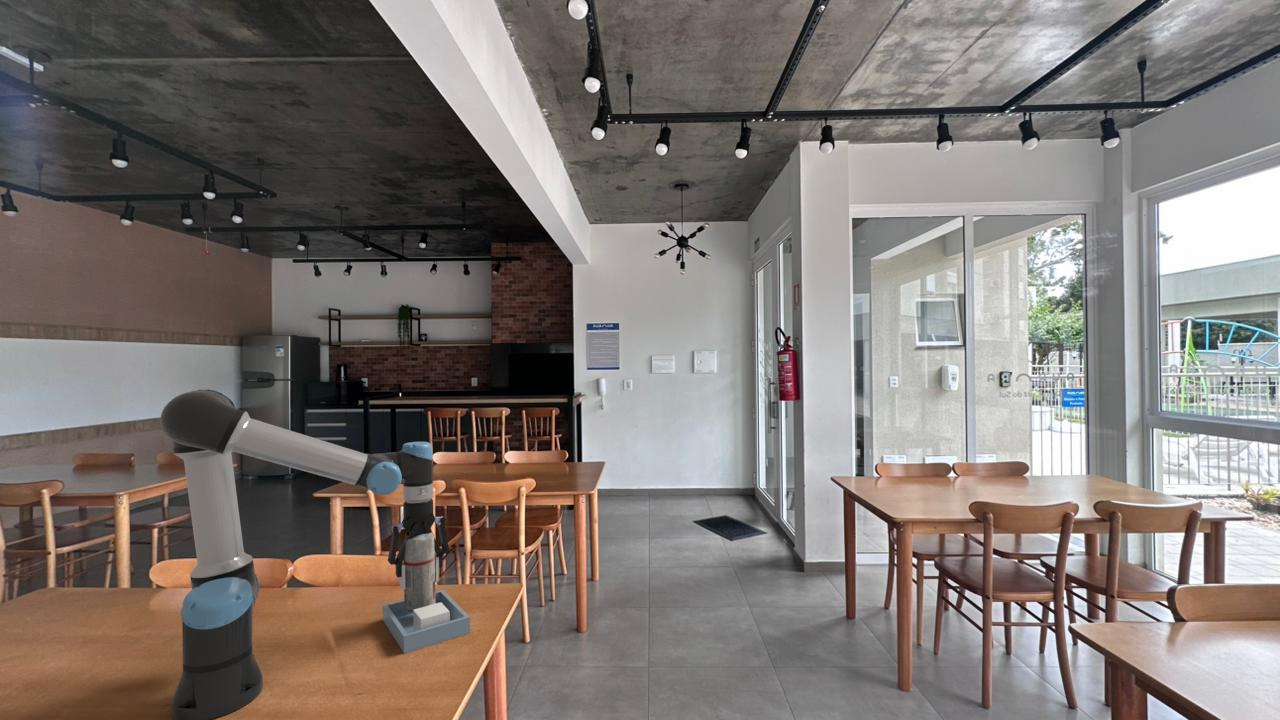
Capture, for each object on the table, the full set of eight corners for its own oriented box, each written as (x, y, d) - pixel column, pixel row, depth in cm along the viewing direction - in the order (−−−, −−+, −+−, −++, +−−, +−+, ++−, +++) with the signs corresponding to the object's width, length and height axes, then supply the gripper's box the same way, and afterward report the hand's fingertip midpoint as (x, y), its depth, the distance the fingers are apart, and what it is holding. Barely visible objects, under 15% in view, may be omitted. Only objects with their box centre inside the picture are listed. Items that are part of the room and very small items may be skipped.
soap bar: (421, 644, 135) (421, 619, 135) (413, 633, 141) (413, 609, 141) (450, 635, 139) (449, 611, 139) (441, 625, 145) (441, 602, 145)
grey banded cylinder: (428, 614, 144) (429, 537, 144) (397, 613, 144) (398, 537, 145) (441, 600, 152) (441, 528, 153) (411, 600, 153) (412, 527, 153)
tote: (404, 657, 131) (404, 636, 131) (382, 623, 148) (382, 605, 148) (470, 636, 140) (470, 617, 140) (442, 607, 158) (442, 589, 158)
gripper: (379, 509, 139) (381, 599, 139) (461, 496, 152) (462, 578, 152) (373, 503, 145) (374, 589, 145) (452, 491, 158) (453, 570, 158)
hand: (419, 584), depth 148 cm, fingers closed on grey banded cylinder, 8 cm apart
